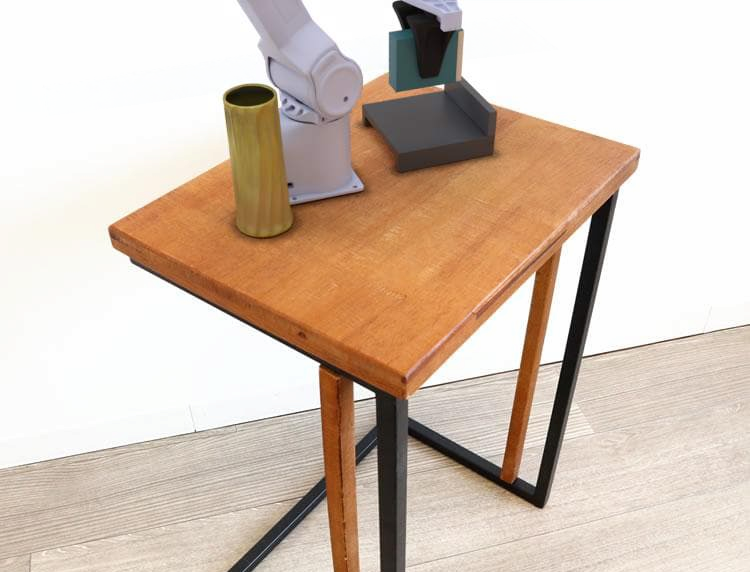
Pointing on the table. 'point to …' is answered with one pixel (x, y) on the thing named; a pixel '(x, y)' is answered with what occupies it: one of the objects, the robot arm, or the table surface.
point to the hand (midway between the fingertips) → (424, 71)
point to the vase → (257, 160)
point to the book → (406, 66)
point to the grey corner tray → (435, 126)
